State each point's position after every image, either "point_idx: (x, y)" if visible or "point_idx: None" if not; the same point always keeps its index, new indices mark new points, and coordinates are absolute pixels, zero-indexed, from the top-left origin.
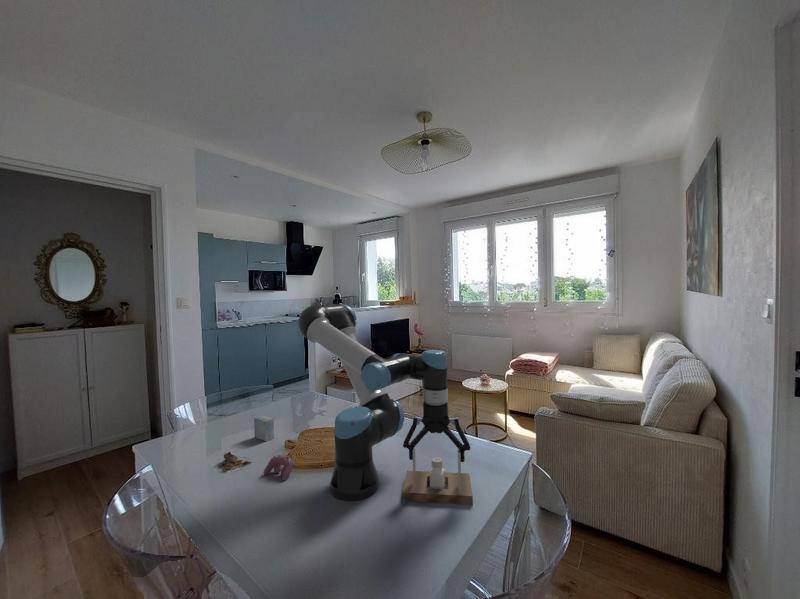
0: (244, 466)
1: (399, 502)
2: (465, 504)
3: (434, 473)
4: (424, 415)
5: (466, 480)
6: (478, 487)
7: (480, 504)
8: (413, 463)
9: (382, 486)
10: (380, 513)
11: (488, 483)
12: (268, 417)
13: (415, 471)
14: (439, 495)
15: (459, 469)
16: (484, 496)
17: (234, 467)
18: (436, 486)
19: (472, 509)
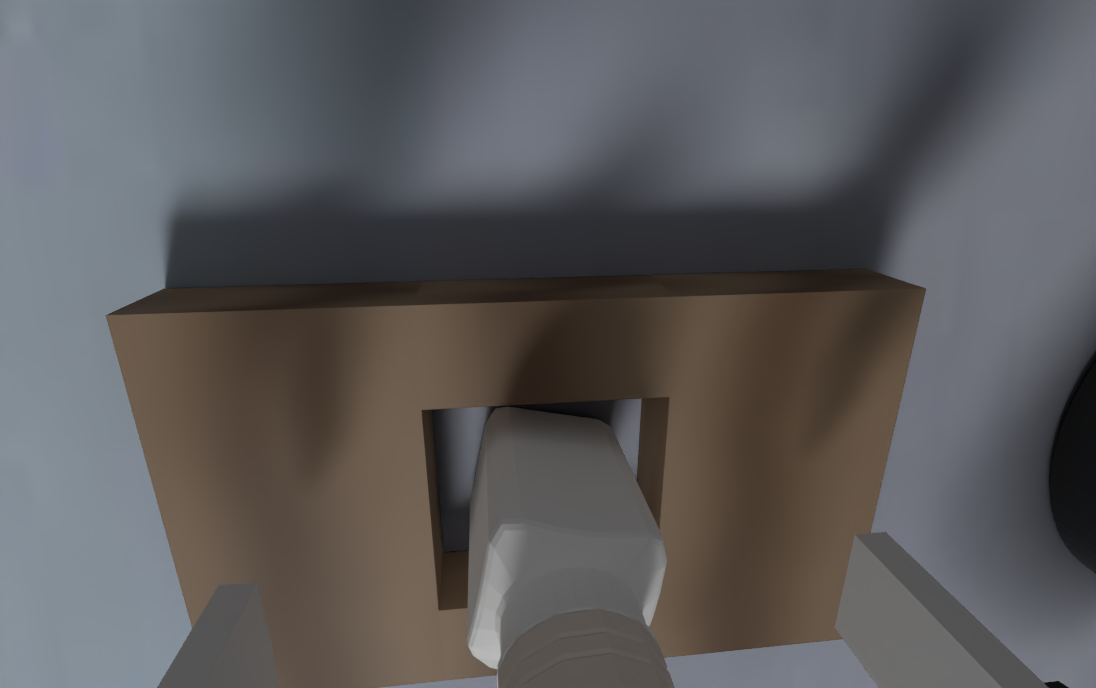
0: None
1: (894, 244)
2: (245, 287)
3: (605, 538)
4: None
5: None
6: (145, 564)
7: (82, 308)
8: (971, 625)
9: (1017, 448)
10: (1084, 52)
11: (52, 635)
12: None
13: (858, 542)
14: (519, 297)
15: (205, 644)
16: (60, 441)
17: None
18: (557, 443)
19: (159, 214)
